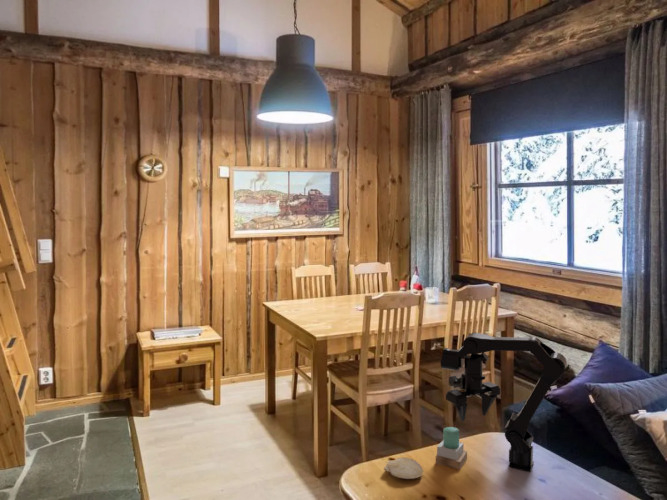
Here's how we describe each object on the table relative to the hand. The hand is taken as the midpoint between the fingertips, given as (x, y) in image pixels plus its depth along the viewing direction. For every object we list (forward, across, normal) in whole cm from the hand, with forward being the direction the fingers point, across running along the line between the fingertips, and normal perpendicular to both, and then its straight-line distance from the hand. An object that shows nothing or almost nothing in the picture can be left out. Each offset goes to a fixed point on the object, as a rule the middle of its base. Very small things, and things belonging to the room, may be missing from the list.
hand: (473, 417), depth 177 cm
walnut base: (+13, +9, 0) cm, 16 cm away
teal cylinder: (+7, +9, 0) cm, 12 cm away
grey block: (+10, +9, 0) cm, 14 cm away
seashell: (+13, +27, -1) cm, 30 cm away
